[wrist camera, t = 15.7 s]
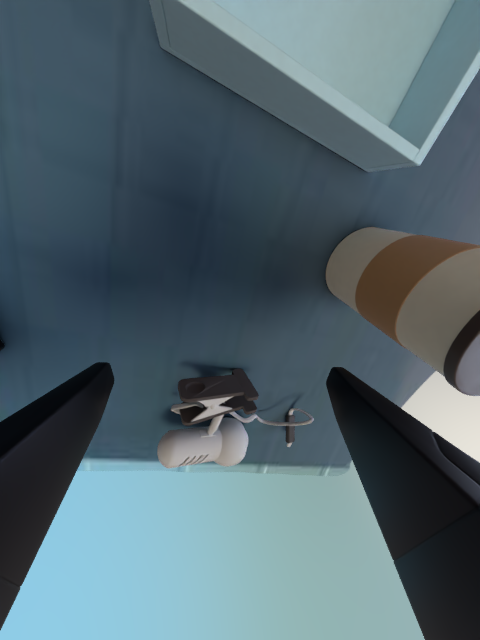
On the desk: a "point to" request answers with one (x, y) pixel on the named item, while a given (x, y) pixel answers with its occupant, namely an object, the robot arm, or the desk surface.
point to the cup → (416, 296)
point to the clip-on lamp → (215, 421)
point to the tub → (336, 66)
